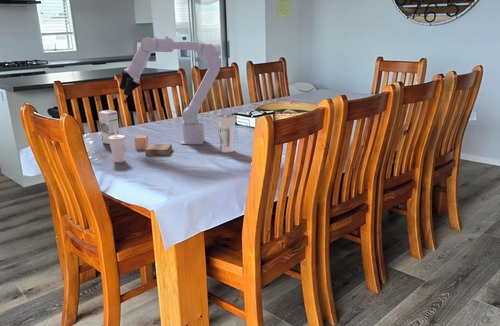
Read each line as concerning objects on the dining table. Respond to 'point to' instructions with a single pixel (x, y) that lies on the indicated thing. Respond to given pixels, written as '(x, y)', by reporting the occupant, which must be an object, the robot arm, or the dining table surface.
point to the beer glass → (226, 132)
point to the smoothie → (117, 146)
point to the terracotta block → (141, 142)
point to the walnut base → (158, 149)
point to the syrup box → (108, 124)
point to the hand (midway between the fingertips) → (123, 91)
